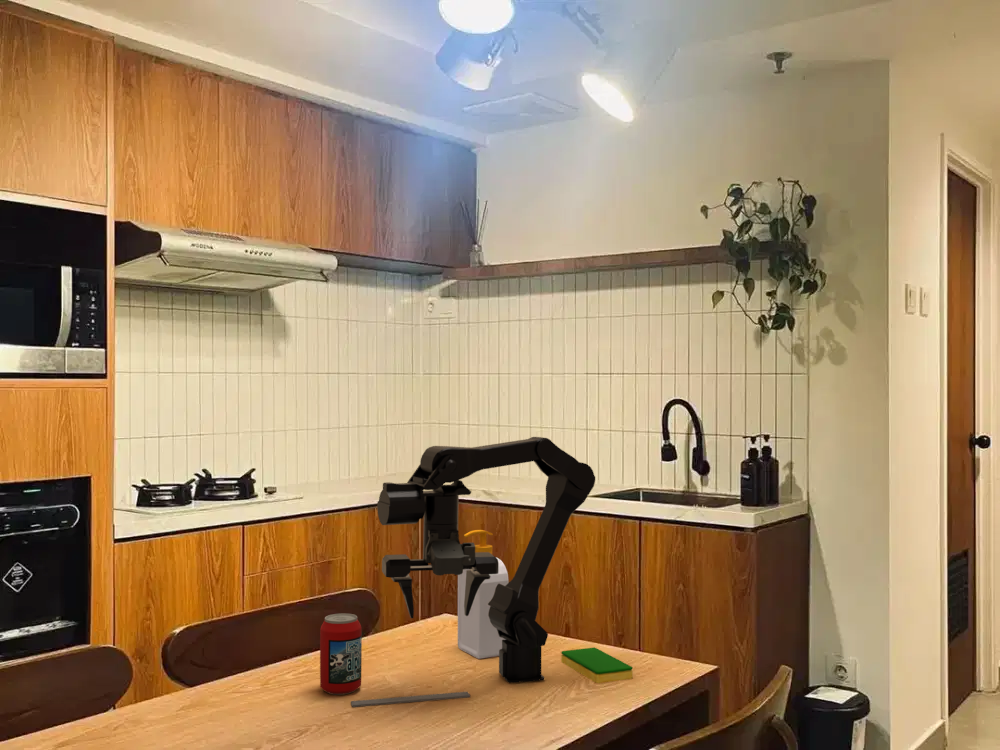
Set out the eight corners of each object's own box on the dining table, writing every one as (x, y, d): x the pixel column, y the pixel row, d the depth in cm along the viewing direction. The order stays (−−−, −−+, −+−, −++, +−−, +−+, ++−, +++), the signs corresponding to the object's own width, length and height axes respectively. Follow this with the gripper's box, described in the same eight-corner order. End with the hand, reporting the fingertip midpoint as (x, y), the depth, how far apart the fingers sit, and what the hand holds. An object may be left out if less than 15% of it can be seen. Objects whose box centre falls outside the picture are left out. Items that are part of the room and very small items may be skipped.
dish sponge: (597, 685, 163) (597, 671, 163) (560, 664, 176) (560, 650, 176) (633, 681, 166) (633, 666, 166) (594, 659, 179) (594, 646, 179)
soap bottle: (453, 648, 184) (454, 528, 185) (485, 643, 188) (486, 526, 188) (475, 660, 177) (476, 535, 177) (508, 655, 180) (509, 532, 180)
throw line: (467, 693, 158) (467, 691, 158) (470, 697, 156) (470, 695, 156) (350, 703, 153) (350, 701, 153) (352, 707, 151) (352, 705, 151)
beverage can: (339, 699, 155) (339, 624, 155) (311, 691, 159) (311, 618, 159) (369, 689, 160) (370, 616, 160) (342, 681, 164) (342, 610, 164)
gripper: (391, 530, 150) (389, 631, 150) (507, 528, 155) (506, 626, 154) (382, 520, 161) (380, 614, 161) (491, 518, 165) (489, 610, 165)
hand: (439, 616), depth 160 cm, fingers open, 9 cm apart
